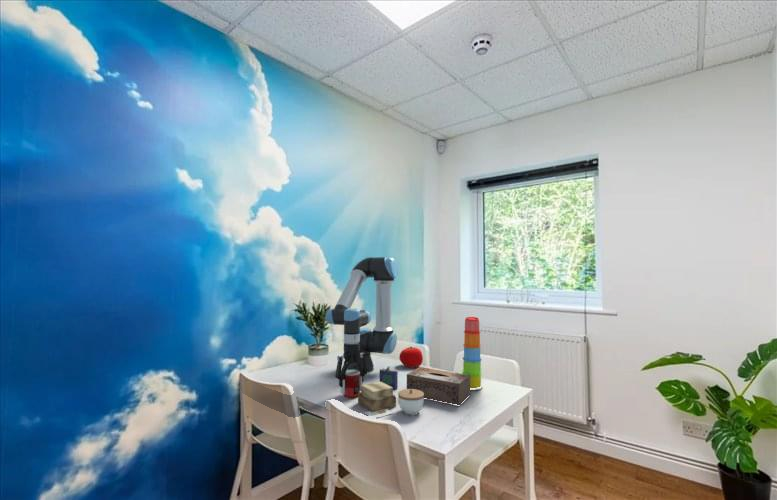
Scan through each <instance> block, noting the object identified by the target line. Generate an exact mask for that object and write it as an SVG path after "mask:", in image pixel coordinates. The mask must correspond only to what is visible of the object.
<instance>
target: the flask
mask: <svg viewBox="0 0 777 500" xmlns="http://www.w3.org/2000/svg"><path fill="white" fill-rule="evenodd" d="M390 368H391V366H386V368H384V367H382V368H379V381H381V382H383V383H385V384H387V385H389V386H391V387H393V391H396V390H398V388H399V387H398V385H399V384H398V382H399V380H398V372H399V371H398V370H397V369H390Z"/></svg>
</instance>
